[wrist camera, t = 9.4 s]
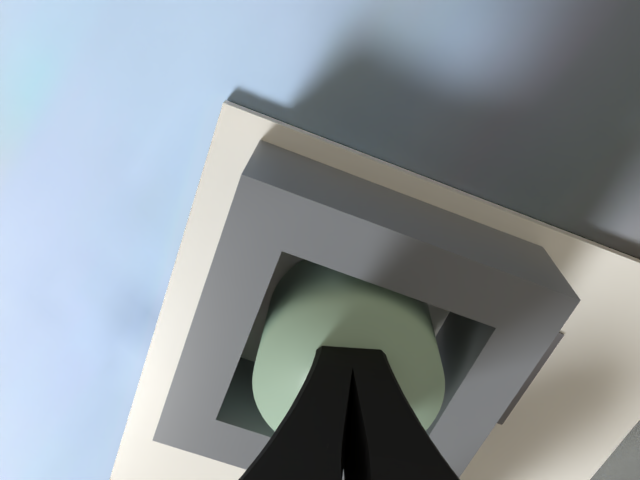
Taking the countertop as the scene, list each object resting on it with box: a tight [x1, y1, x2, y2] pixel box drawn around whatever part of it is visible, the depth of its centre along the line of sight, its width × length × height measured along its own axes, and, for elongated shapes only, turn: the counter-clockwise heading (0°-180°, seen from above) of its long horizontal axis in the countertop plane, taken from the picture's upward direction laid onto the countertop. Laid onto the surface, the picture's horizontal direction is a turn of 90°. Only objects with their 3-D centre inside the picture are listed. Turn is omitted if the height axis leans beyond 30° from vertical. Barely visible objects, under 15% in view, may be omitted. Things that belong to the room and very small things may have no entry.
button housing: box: [152, 140, 581, 480], centre depth 13 cm, size 7×7×2 cm
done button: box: [252, 259, 445, 431], centre depth 13 cm, size 4×4×3 cm
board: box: [110, 100, 640, 480], centre depth 17 cm, size 18×13×1 cm
